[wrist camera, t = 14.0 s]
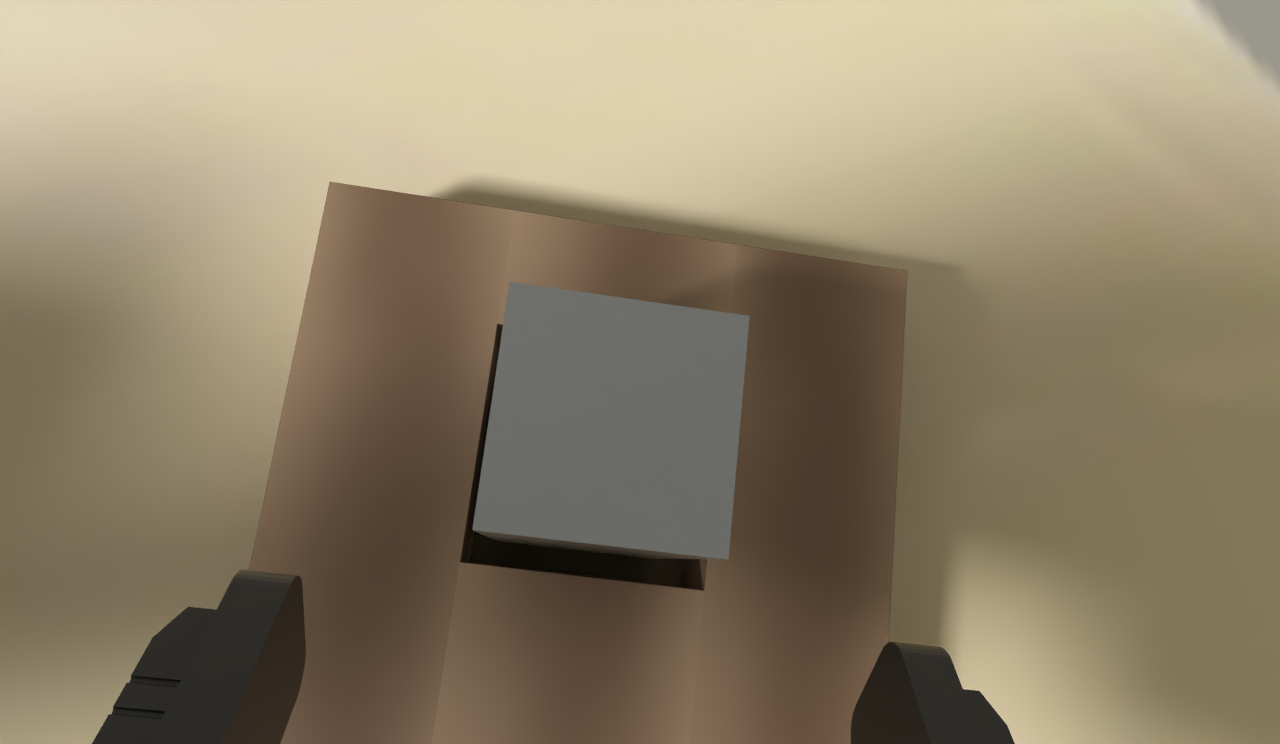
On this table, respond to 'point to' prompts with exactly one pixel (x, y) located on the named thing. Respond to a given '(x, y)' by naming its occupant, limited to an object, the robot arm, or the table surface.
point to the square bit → (613, 426)
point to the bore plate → (562, 602)
